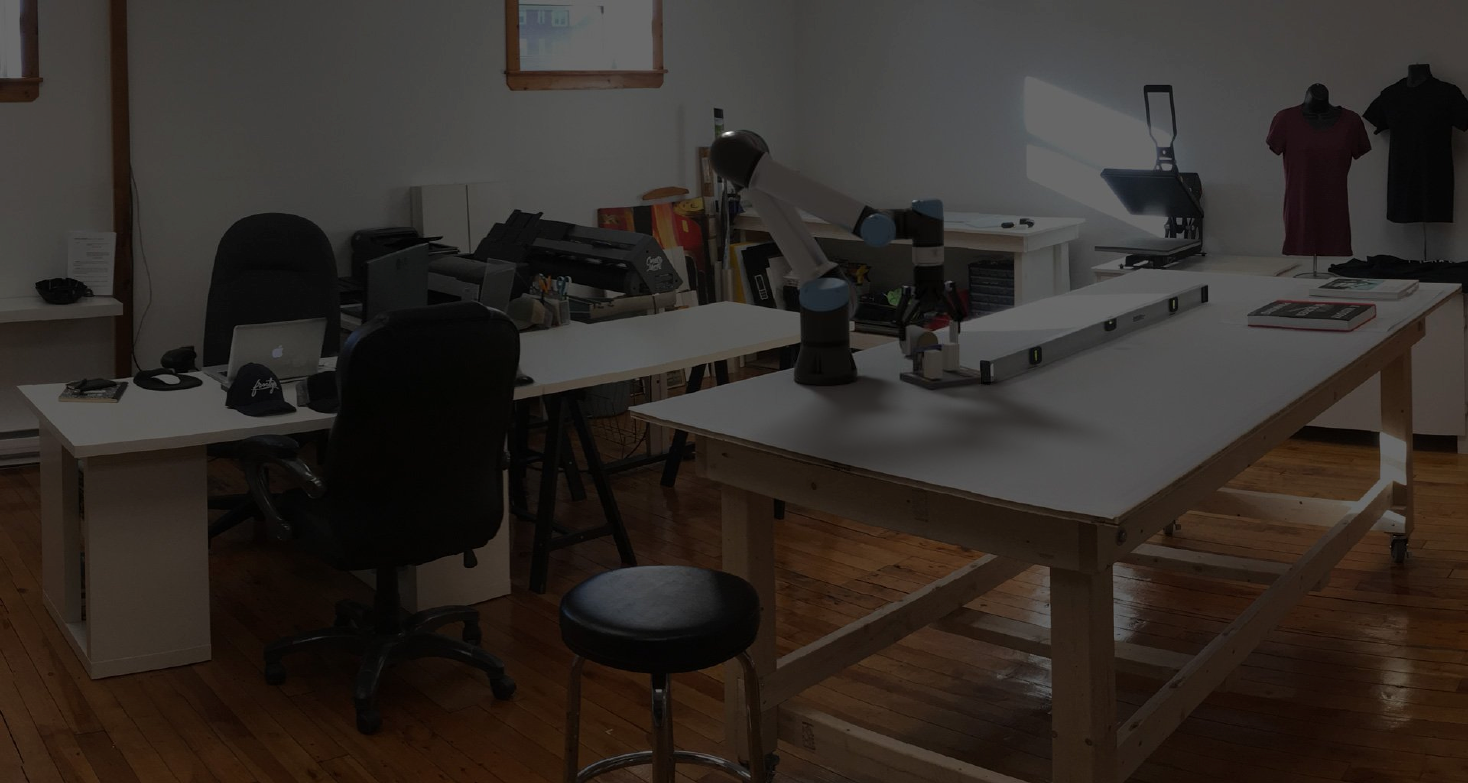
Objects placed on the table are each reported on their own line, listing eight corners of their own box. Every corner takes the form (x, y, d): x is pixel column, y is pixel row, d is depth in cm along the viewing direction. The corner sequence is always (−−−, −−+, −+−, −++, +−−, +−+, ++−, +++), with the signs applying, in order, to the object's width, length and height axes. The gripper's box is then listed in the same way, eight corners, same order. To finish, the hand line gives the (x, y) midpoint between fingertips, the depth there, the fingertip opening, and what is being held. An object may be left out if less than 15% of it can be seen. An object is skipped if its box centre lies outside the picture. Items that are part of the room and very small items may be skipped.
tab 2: (948, 370, 303) (948, 345, 301) (941, 368, 305) (941, 343, 304) (959, 369, 304) (959, 344, 303) (952, 367, 307) (952, 342, 305)
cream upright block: (931, 379, 294) (931, 352, 293) (924, 376, 297) (924, 350, 295) (942, 377, 295) (942, 351, 294) (935, 375, 298) (935, 349, 297)
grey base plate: (931, 389, 292) (931, 383, 291) (899, 379, 304) (899, 372, 304) (994, 381, 298) (994, 375, 298) (960, 371, 311) (960, 365, 310)
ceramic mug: (917, 360, 327) (918, 330, 325) (898, 355, 334) (898, 326, 332) (950, 356, 332) (951, 326, 330) (930, 351, 339) (931, 322, 337)
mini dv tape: (916, 373, 311) (917, 348, 310) (912, 372, 313) (912, 347, 311) (942, 368, 316) (942, 344, 314) (938, 367, 317) (938, 343, 316)
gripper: (891, 269, 300) (893, 359, 305) (981, 260, 310) (982, 347, 314) (875, 267, 307) (877, 354, 312) (963, 258, 317) (965, 342, 321)
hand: (930, 351), depth 313 cm, fingers open, 13 cm apart
